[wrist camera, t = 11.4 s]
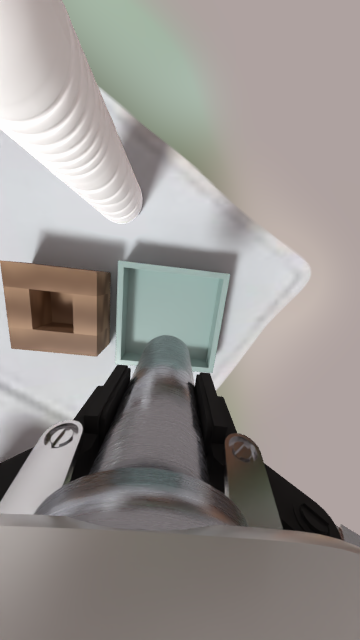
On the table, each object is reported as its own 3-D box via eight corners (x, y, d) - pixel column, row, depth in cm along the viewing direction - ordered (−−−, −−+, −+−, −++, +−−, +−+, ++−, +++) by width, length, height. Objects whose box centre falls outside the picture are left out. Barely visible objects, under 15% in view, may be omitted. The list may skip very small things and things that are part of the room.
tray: (125, 262, 27) (118, 260, 24) (223, 274, 28) (230, 274, 25) (121, 354, 31) (115, 363, 28) (208, 362, 32) (212, 372, 28)
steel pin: (135, 322, 14) (-64, 544, 2) (203, 329, 15) (318, 562, 3) (132, 382, 16) (-8, 714, 4) (194, 388, 16) (244, 716, 4)
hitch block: (31, 263, 27) (0, 260, 22) (110, 272, 28) (96, 271, 23) (37, 336, 30) (11, 348, 25) (109, 343, 31) (96, 356, 26)
